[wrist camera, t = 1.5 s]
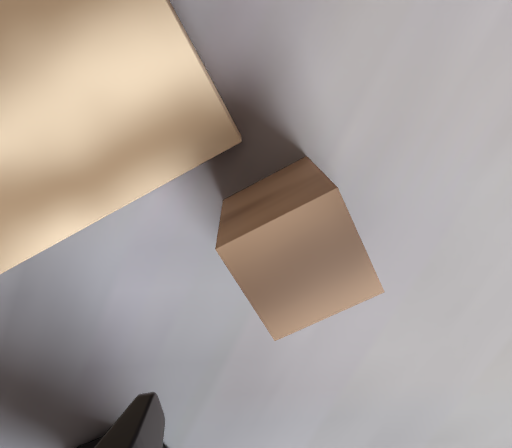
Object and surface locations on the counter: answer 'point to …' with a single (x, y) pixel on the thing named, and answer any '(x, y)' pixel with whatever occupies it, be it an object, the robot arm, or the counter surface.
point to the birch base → (95, 114)
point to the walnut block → (295, 249)
